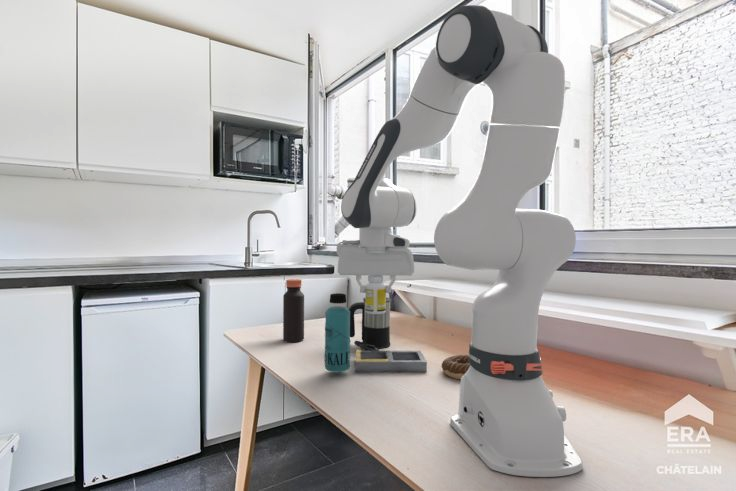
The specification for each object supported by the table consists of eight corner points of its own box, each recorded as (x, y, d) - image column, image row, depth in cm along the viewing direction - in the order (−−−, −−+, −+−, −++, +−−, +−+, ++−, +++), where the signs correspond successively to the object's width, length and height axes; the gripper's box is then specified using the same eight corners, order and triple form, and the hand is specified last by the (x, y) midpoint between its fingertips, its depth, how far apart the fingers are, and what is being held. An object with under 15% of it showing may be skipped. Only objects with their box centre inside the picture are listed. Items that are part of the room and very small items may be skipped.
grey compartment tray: (426, 371, 96) (426, 360, 96) (355, 372, 95) (355, 360, 95) (420, 359, 106) (420, 349, 106) (356, 359, 105) (356, 349, 105)
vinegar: (296, 336, 130) (297, 278, 130) (308, 340, 125) (308, 280, 125) (279, 339, 126) (279, 279, 126) (290, 344, 121) (290, 281, 121)
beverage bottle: (335, 367, 99) (336, 291, 98) (356, 372, 95) (356, 293, 95) (318, 374, 93) (318, 293, 93) (339, 380, 90) (339, 296, 89)
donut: (492, 382, 89) (492, 365, 89) (448, 383, 89) (448, 366, 89) (476, 367, 100) (476, 352, 100) (437, 367, 100) (437, 352, 99)
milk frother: (384, 340, 127) (384, 295, 126) (405, 353, 112) (405, 303, 112) (343, 343, 122) (343, 297, 122) (359, 358, 107) (359, 305, 107)
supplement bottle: (386, 310, 103) (386, 274, 103) (385, 314, 98) (385, 277, 97) (366, 310, 104) (366, 274, 103) (364, 314, 98) (364, 276, 98)
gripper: (335, 240, 97) (335, 293, 97) (415, 240, 97) (415, 294, 97) (337, 239, 103) (337, 290, 103) (412, 240, 103) (411, 290, 104)
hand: (375, 292), depth 100 cm, fingers closed on supplement bottle, 5 cm apart
